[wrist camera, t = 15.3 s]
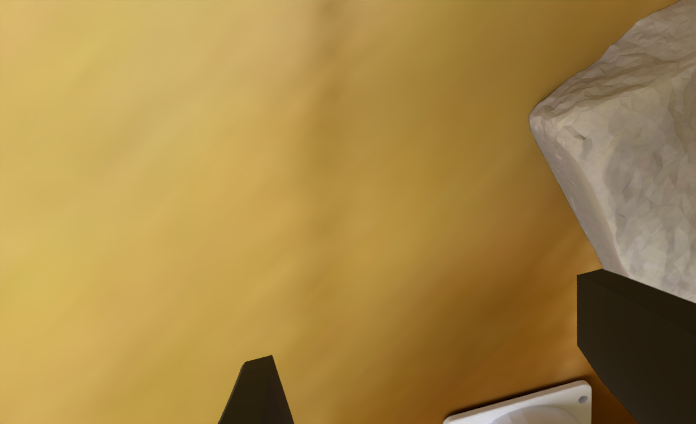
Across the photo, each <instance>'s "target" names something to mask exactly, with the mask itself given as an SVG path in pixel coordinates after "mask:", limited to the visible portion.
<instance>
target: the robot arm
mask: <svg viewBox="0 0 696 424" xmlns="http://www.w3.org/2000/svg"><path fill="white" fill-rule="evenodd" d="M577 345H578V347H579V348H580V350H581V351H582V353H583V354H584V356H585V357H586V359H587V360H588V362H589V363H590V365H591V366H592V368H593V369H594V371H595V372H596V373H597V375H598V376H599V378H600V379H601V380H602V382H603V383H604V384H605V385H606V387H607V388H608V389H609V390H610V391H611V392H612V393H613V395H614V396H615V397H616V398H617V399H618V400H619V401H620V403H621V404H622V405H623V406H624V407H625V408H626V409H627V410H628V412H629V413H630V414H631V415H632V416H633V417H634V418H635V419H636V420H637V422H638V423H639V424H696V303H694V302H691V301H689V300H686V299H683V298H681V297H678V296H675V295H673V294H670V293H667V292H665V291H662V290H659V289H657V288H654V287H652V286H649V285H646V284H644V283H641V282H638V281H636V280H633V279H630V278H628V277H625V276H622V275H619V274H616V273H613V272H610V271H607V270H604V269H599V270H595V271H592V272H588V273H584V274H580V275H577ZM591 404H592V389H591V386H590V385H589V384H588V383H587V382H586V381H584V380H580V381H576V382H572V383H568V384H565V385H561V386H558V387H554V388H550V389H547V390H543V391H540V392H536V393H532V394H529V395H525V396H522V397H518V398H514V399H511V400H507V401H503V402H500V403H496V404H493V405H489V406H485V407H482V408H478V409H475V410H471V411H467V412H464V413H460V414H457V415H453V416H450V417H448V418H447V419H445V421H444V423H443V424H591ZM218 424H294V421H293V418H292V415H291V412H290V409H289V406H288V403H287V400H286V397H285V394H284V390H283V387H282V384H281V381H280V378H279V375H278V372H277V369H276V366H275V363H274V359H273V356H272V355H270V356H266V357H263V358H259V359H255V360H251V361H247V362H245V363H244V365H243V366H242V367H241V370H240V373H239V375H238V378H237V381H236V383H235V386H234V388H233V391H232V393H231V395H230V398H229V400H228V402H227V405H226V407H225V409H224V412H223V414H222V416H221V418H220V420H219V422H218Z"/></svg>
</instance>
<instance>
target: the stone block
mask: <svg viewBox="0 0 696 424" xmlns="http://www.w3.org/2000/svg"><path fill="white" fill-rule="evenodd" d="M529 125H530V130H531V132H532V134H533V135H534V138H535V140H536V143H537V144H538V146H539V148H540V150H541V152H542V154H543V155H544V157H545V159H546V160H547V162H548V164H549V166H550V168H551V170H552V172H553V174H554V176H555V178H556V180H557V181H558V183H559V185H560V187H561V189H562V190H563V192H564V194H565V196H566V198H567V200H568V202H569V204H570V206H571V208H572V210H573V211H574V213H575V215H576V217H577V219H578V221H579V223H580V225H581V227H582V229H583V231H584V232H585V234H586V236H587V238H588V240H589V241H590V243H591V245H592V246H593V248H594V250H595V252H596V254H597V256H598V258H599V260H600V262H601V264H602V266H603V268H604V270H607V271H610V272H613V273H616V274H619V275H622V276H625V277H628V278H630V279H633V280H636V281H638V282H641V283H644V284H646V285H649V286H652V287H654V288H657V289H659V290H662V291H665V292H667V293H670V294H673V295H675V296H678V297H681V298H683V299H686V300H689V301H691V302H694V303H696V0H679V1H678V2H676V3H675V4H673V5H671V6H668V7H666V8H664V9H661V10H659V11H656V12H654V13H651V14H650V15H648V16H647V17H645V18H642V19H640V20H638V21H637V22H636V24H635V25H634V26H633V27H632V28H631V29H629V30H628V31H627V32H626V33H625V34H624V35H623V36H622V37H621V38H620V39H619V40H618V41H617V42H616V43H614V44H611V45H610V46H609V48H608V49H607V50H606V52H605V53H604V54H603V56H602V57H601V58H600V59H599V60H598V61H596V62H595V63H593V64H592V65H590V66H589V67H588V68H586V69H584V70H582V71H580V72H578V73H577V74H576V75H574V76H572V77H570V78H569V79H568V80H566V81H565V82H564V83H563V84H562V85H561V86H559V87H558V88H557V89H556V90H555V91H554V92H552V93H551V94H550V95H549V96H548V97H547V98H546V99H544V100H543V101H541V102H540V103H539V104H537V105H536V106H535V107H534V109H533V110H532V111H531V112H530V114H529Z"/></svg>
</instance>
